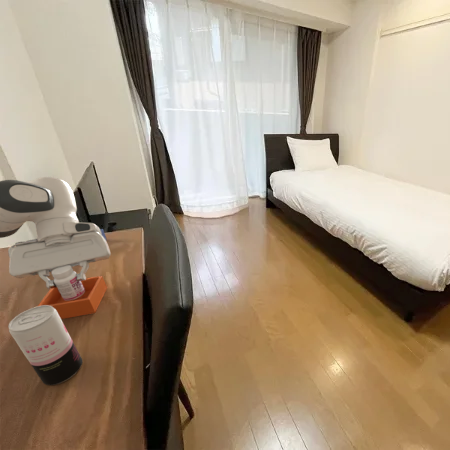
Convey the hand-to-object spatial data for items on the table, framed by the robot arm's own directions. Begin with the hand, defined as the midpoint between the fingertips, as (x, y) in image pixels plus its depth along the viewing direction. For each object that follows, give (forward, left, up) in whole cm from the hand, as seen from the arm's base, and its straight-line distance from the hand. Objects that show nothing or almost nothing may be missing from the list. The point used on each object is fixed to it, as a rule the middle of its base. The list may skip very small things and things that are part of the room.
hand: (67, 284), depth 70 cm
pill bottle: (0, +1, -5) cm, 5 cm away
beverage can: (+5, -21, -7) cm, 23 cm away
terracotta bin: (0, +1, -7) cm, 7 cm away
